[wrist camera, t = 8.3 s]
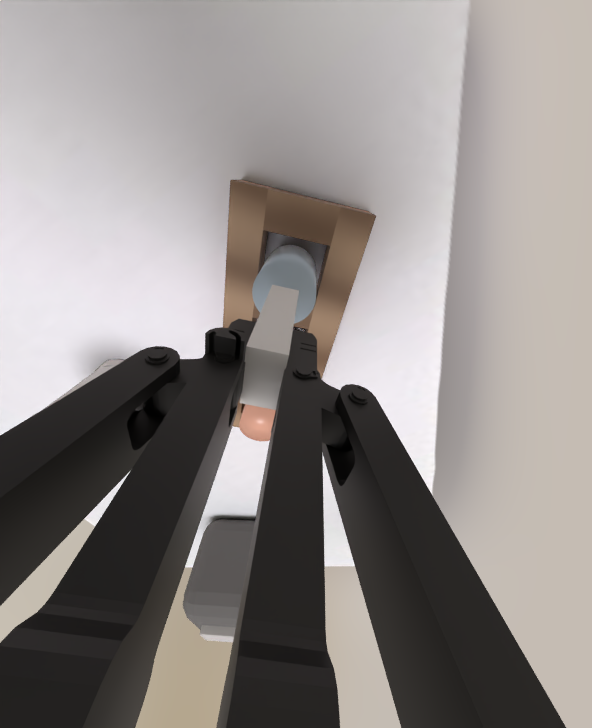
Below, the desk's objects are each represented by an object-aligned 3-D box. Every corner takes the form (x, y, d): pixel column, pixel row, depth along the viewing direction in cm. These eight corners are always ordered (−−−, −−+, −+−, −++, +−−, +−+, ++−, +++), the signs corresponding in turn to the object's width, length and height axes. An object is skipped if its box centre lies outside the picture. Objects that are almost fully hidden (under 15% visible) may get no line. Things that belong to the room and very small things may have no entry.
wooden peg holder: (241, 179, 20) (230, 180, 17) (369, 211, 21) (376, 216, 18) (225, 405, 34) (217, 423, 31) (302, 420, 34) (301, 438, 32)
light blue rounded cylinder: (268, 238, 19) (256, 255, 15) (322, 251, 20) (323, 271, 16) (261, 291, 22) (249, 317, 18) (309, 301, 22) (308, 330, 18)
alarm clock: (218, 539, 57) (190, 643, 44) (204, 513, 51) (167, 625, 38) (294, 542, 56) (288, 651, 43) (290, 515, 49) (281, 634, 36)
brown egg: (251, 375, 28) (241, 409, 24) (288, 383, 29) (283, 417, 25) (248, 402, 31) (237, 436, 27) (281, 409, 31) (276, 444, 27)
